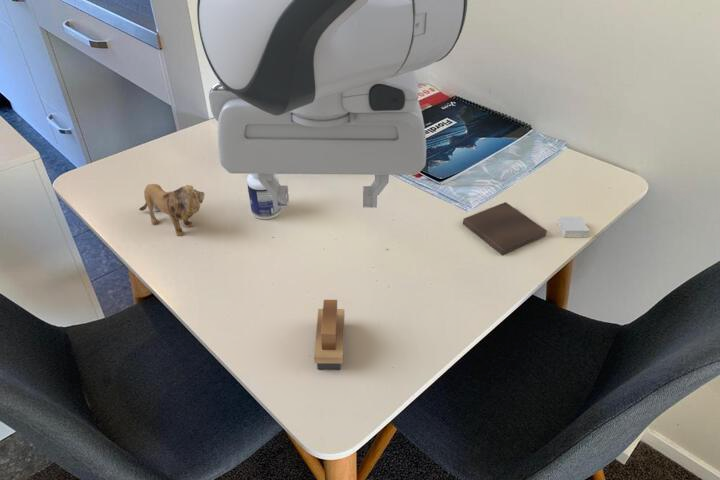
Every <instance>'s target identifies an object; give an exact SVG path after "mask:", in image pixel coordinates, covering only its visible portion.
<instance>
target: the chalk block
mask: <svg viewBox="0 0 720 480" xmlns="http://www.w3.org/2000/svg"><path fill="white" fill-rule="evenodd" d="M556 225H557V227H558V228H559V230H560V233H561V235H562V237H563V238H588V236H589V233H590V229H589V228H588V225H587V224H586V222H585V220H584V219H583V217H582V216H558V219H557V221H556Z"/></svg>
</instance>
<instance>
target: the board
mask: <svg viewBox="0 0 720 480" xmlns="http://www.w3.org/2000/svg"><path fill="white" fill-rule="evenodd" d="M462 225H463V226H465V227H466V228H467V229H469V230H470V231H471V232H472V233H473V234H475V235H476V236H477V237H478V238H480V239H481V240H482V241H483V242H484V243H486V244H487V245H488V246H490V247H491V248H492V249H493V250H495V251H496V252H498V253H499V254H500V255H501V256H505V255H507V254H509V253H512V252H513V251H516V250H517V249H520V248H523V247H525V246H527V245H529V244H531V243H533V242H535V241H538V240H541V239H542V238H545V237H546V236H547V233H548V230H547V229H546V228H544V227H542V225H539V224H538V223H537V222H536V221H534V220H533V219H531V218H530V217H528V216H527V215H525V214H524V213H522V212H521V211H520V210H518V209H516V208H515V207H513V206H512V205H510V204H509V203H508V202H506V201H505V202H502V203H499V204H497V205H494V206H491V207H489V208H487V209H484V210H482V211H479V212H477V213H474V214H472V215H469V216H467V217H463V219H462Z"/></svg>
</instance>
